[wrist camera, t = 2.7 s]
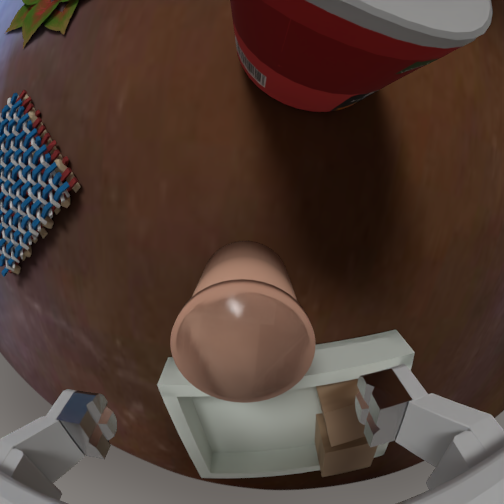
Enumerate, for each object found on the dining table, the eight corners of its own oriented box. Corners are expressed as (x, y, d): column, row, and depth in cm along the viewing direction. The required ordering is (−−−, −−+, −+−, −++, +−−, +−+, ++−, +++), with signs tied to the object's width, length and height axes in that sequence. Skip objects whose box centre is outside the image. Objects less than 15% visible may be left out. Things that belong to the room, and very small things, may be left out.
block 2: (364, 404, 19) (379, 440, 15) (358, 432, 20) (370, 466, 16) (315, 414, 19) (325, 452, 15) (314, 441, 20) (321, 477, 17)
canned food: (351, 136, 15) (495, 102, 4) (216, 87, 14) (159, -36, 3) (382, 37, 13) (485, -47, 2) (261, -10, 12) (270, -139, 1)
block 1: (367, 354, 18) (388, 391, 14) (370, 391, 19) (387, 427, 15) (312, 372, 18) (323, 413, 14) (320, 407, 19) (331, 446, 15)
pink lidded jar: (287, 232, 16) (313, 276, 9) (294, 317, 18) (315, 394, 11) (192, 243, 16) (154, 293, 10) (208, 326, 18) (188, 404, 11)
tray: (396, 329, 18) (414, 352, 15) (374, 432, 21) (383, 454, 18) (168, 357, 18) (157, 384, 16) (205, 453, 22) (201, 477, 19)
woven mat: (93, 185, 16) (76, 188, 14) (21, 276, 17) (6, 285, 15) (32, 85, 13) (16, 81, 11) (-28, 182, 15) (-44, 184, 13)
